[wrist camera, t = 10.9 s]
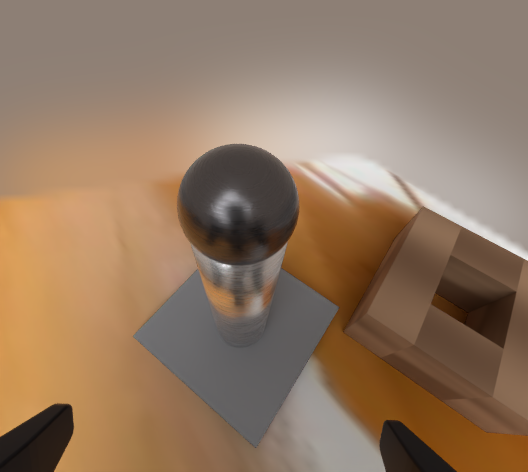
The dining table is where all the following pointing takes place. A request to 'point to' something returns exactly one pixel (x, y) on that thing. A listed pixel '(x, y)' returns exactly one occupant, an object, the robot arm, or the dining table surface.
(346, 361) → the dining table surface
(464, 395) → the block
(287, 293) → the slate pad
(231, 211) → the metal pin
